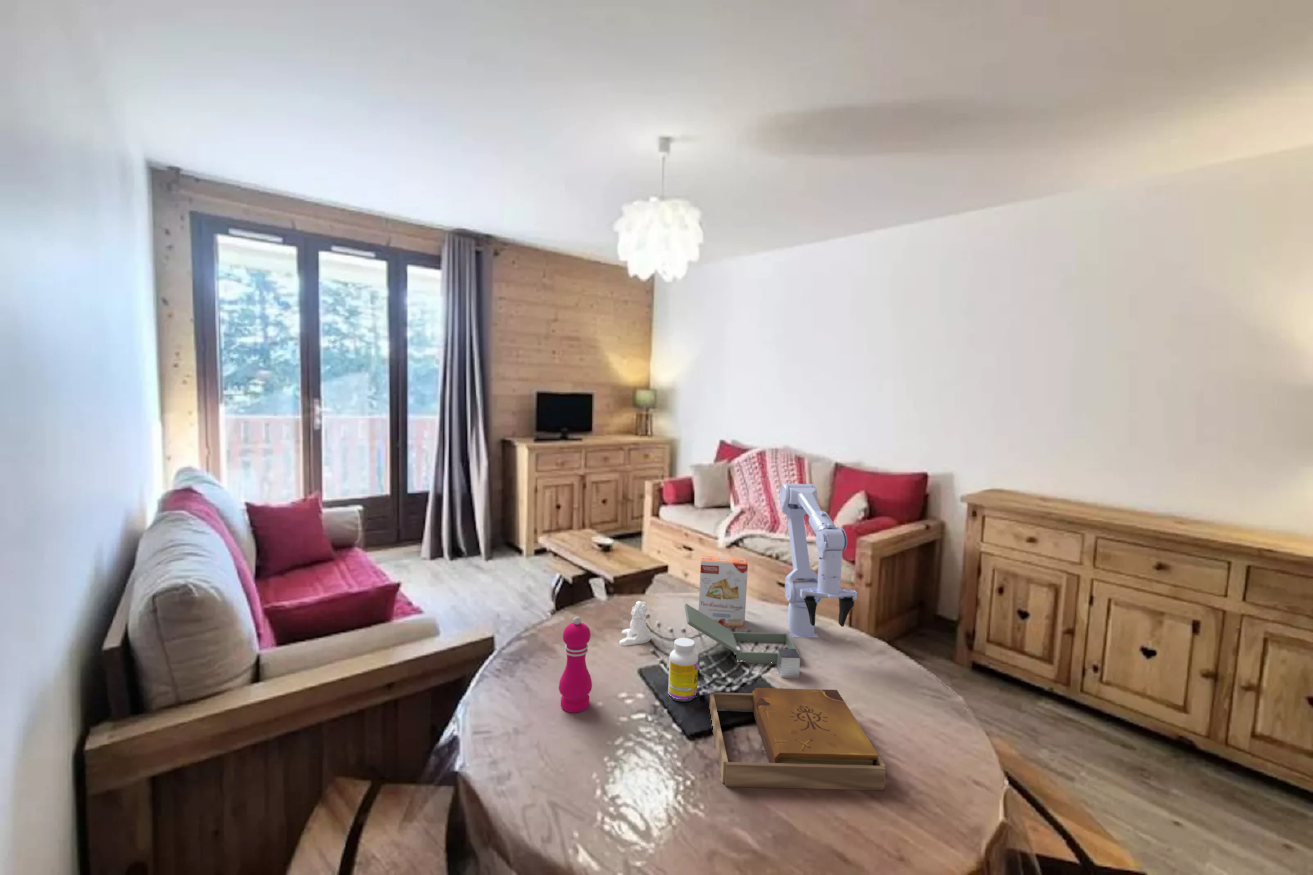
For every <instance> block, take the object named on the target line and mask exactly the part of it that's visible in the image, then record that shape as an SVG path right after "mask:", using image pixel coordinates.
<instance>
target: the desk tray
mask: <svg viewBox="0 0 1313 875" xmlns="http://www.w3.org/2000/svg"><path fill="white" fill-rule="evenodd" d="M710 692H711V691H710ZM708 704H709V706H708V710H709V709H710V714H711V719H710V721H711V720H712V724H711V727H712V726H713V730H712V733H713V739H714V744H715V746H714V747H715V751H716V755H717V761H718V768H719V772H720V777H721V782H722V784H724V785H725V787H726V788H727V787H728V788H729V787H732V788H734V787H735V788H768V789H770V788H774V789H778V788H779V789H809V790H810V789H815V790H817V789H818V790H850V791H851V790H854V791H855V790H856V791H858V790H859V791H863V790H864V791H885V783H886V767H887V766H886V764H885V763H884V761H883V760H882V758H881V756H880V755H879V753H878V751H877V750H876V749H875V747H874V745H873V744H872V742H871V741H870V739H869V738H868V736H867V734H866V733H865V732H864V730H863V728H862V727H861V729H862V730H863V732H864V733H865V735H866V737H867V738H868V740H869V741H870V743H871V744H872V746H873V748H874V749H875V751H876V752H877V754H878V760H873V766H870V765H830V764H790V763H769V762H745V761H743V762H739V761H738V762H737V761H729V760H728V755H727V751H726V746H725V742H724V741H725V740H724V736H723V732H722V728H721V724H720V718H719V714H718V713H719V712H717V708H726V709H728V708H729V709H743V710H752V708H753V694H752V692H751V693H750V692H744V693H743V692H714V691H713V692H711V693H710V694H709V703H708ZM847 707H848V705H847ZM848 708H849V707H848ZM849 710H850V711H851V709H850V708H849ZM710 714H709V715H710ZM854 718H855V719H856V717H855V716H854ZM856 721H857V719H856ZM857 722H858V721H857ZM858 724H859V722H858ZM859 725H860V724H859Z"/></svg>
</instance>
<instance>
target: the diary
mask: <svg viewBox="0 0 1313 875" xmlns="http://www.w3.org/2000/svg"><path fill="white" fill-rule="evenodd" d="M751 693H752V694H753V708H752V710H753V713H754V714H753V716H754V719H755V723H756V726H757V730H758V732H759V735H760V738H761V741H762V745H763V747H764V749H765V750H764V751H765V754H766V756H767V760H768V763H790V764H830V765H870V766H873V760H878V755H879V753H878V751H877V750H876V749H874V748H875V747H874V745H873V743H872V742H871V741H870V739H869V738H867V737H868V736H867V734H866V732H863V731H864V730H863V728H862V726H861V724H858V723H859V722H858V721H856V720H857V718H856V717H855V716H854V714H853V712H852V711H851V709H850V708H849V707H847V706H848V705H847V703H846V701H845V700H844V699H843V697H842V695H841V694H840V692H839V691H838V690H837V689H820V688H819V689H818V688H817V689H813V688H783V687H782V688H780V687H779V688H777V687H755V688H754V689H753V690H752V692H751ZM849 709H850V710H849ZM854 717H855V718H854ZM861 728H862V729H861ZM865 734H866V735H865ZM866 736H867V737H866ZM868 739H869V740H868ZM870 742H871V743H870ZM872 745H873V746H872ZM873 747H874V748H873ZM875 750H876V751H877V752H876V751H875ZM877 753H878V754H877Z"/></svg>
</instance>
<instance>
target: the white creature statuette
mask: <svg viewBox="0 0 1313 875" xmlns="http://www.w3.org/2000/svg"><path fill="white" fill-rule="evenodd" d="M647 611H648V606H647V602H646V601H645V600H644V601H641V600H638V601H636V602H635V604H634V606H632V607H631V612H630V615H631V621H630V622H629V628H625V629H623V630H622V631H621V634H622V635H625V636H626V637H624V638H622V639H620V640H619V642H618V643H619V645H620V646H622V647H624V646H625V647H627V646H635V645H639V644H640V645H641V644H646V643H649V641H650V640H651V639H652V633H651V630H650V629H649V627H648V626H647V622H646V621H647V620H646V618H645V616H646V613H647Z"/></svg>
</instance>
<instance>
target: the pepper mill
mask: <svg viewBox="0 0 1313 875" xmlns="http://www.w3.org/2000/svg"><path fill="white" fill-rule="evenodd" d="M591 634H592V633H591V629H590V628H589V626H588V625H587V624H586V623H584V622H582V618H581V617H580V616H575V617H573V620H572V622H571V623H569V624H567V625H566V627H565V628H564V630H563V633H562V640H563V642H564V643H565V645H564V648H565V649H564V653H565V654H566V664H565V668H564V670H563V672H562V675H561V677H560V679H559V682H558V690H559V693H560V694H561V697H560V707H561V709H562V710H563V711H565V712H568V713H580V712H583V711H585V710H587V709H588V708H589V706H590V695H589V694H590V692H592V690H593V682H592V681H593V680H592V677H591V675H590V672H589V669H588V667H587V663H586V662H587V661H586V660H587V659H586V655H587V653H588V652H589V649H588V648H589V645H588V643H589V642H590V639H591V636H592V635H591Z"/></svg>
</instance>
